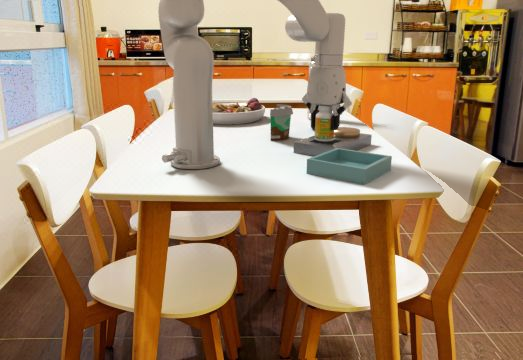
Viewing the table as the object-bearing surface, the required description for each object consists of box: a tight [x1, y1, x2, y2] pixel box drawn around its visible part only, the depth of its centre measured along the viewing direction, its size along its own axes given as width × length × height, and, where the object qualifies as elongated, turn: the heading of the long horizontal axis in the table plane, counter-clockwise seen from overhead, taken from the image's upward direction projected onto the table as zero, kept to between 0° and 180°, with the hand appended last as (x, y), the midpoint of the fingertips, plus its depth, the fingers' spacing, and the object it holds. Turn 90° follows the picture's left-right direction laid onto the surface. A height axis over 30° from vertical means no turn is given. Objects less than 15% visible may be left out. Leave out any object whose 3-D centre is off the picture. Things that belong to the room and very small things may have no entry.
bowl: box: [212, 97, 266, 126], centre depth 188 cm, size 30×30×8 cm
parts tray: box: [306, 148, 393, 185], centre depth 116 cm, size 15×15×4 cm
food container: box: [269, 103, 294, 142], centre depth 153 cm, size 12×6×10 cm, turn 168°
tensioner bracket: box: [293, 126, 373, 157], centre depth 140 cm, size 23×13×4 cm, turn 143°
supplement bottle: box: [314, 104, 334, 142], centre depth 134 cm, size 5×5×10 cm
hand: (324, 127), depth 135 cm, fingers closed on supplement bottle, 5 cm apart
